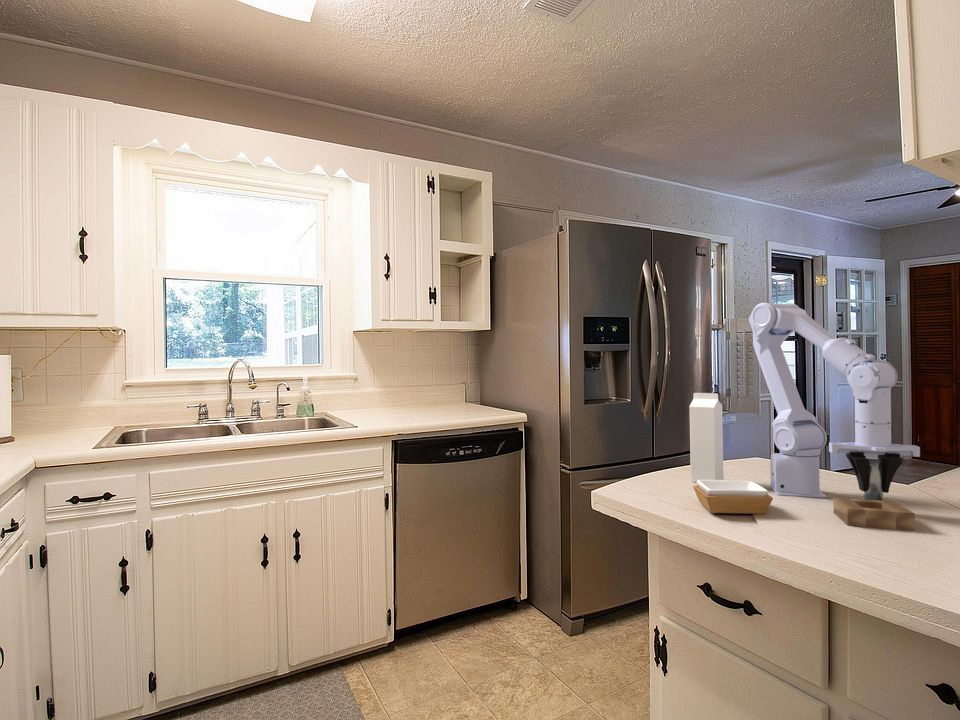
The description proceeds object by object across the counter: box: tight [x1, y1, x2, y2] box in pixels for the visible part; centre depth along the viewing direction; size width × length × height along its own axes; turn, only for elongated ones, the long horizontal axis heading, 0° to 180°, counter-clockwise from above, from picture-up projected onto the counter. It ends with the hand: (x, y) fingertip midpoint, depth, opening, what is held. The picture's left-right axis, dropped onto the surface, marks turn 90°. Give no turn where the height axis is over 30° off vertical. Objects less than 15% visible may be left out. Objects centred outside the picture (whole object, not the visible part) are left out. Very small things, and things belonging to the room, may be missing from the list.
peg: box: [863, 457, 884, 501], centre depth 103 cm, size 3×3×9 cm
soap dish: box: [692, 479, 774, 515], centre depth 106 cm, size 12×10×5 cm
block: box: [833, 497, 916, 531], centre depth 96 cm, size 10×8×3 cm
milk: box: [689, 392, 724, 483], centre depth 129 cm, size 6×6×22 cm
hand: (873, 490), depth 103 cm, fingers closed on peg, 3 cm apart
